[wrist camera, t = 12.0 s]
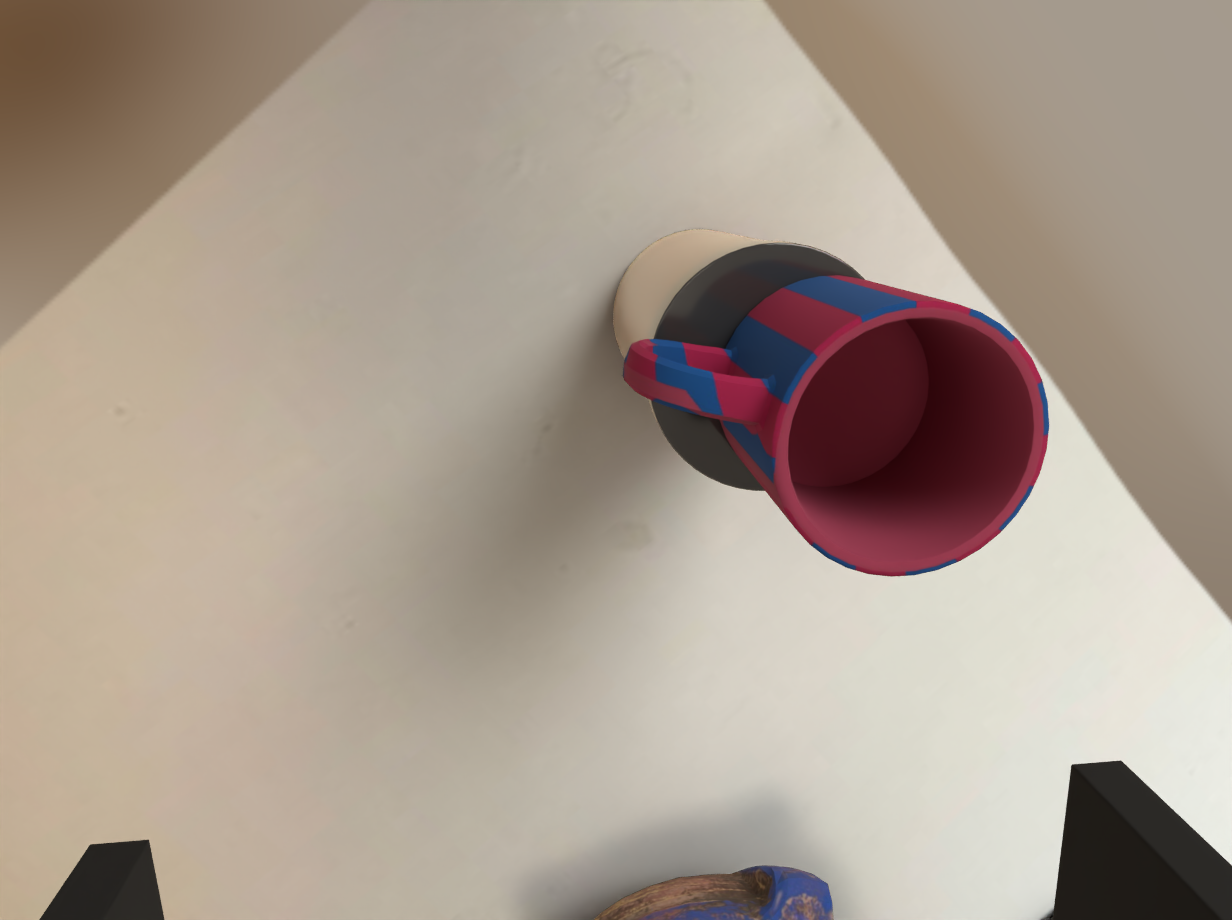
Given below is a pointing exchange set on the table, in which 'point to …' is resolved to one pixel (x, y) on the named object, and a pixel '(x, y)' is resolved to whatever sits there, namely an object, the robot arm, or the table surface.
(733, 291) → the jar
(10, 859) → the table surface
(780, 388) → the mug
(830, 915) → the bowl
